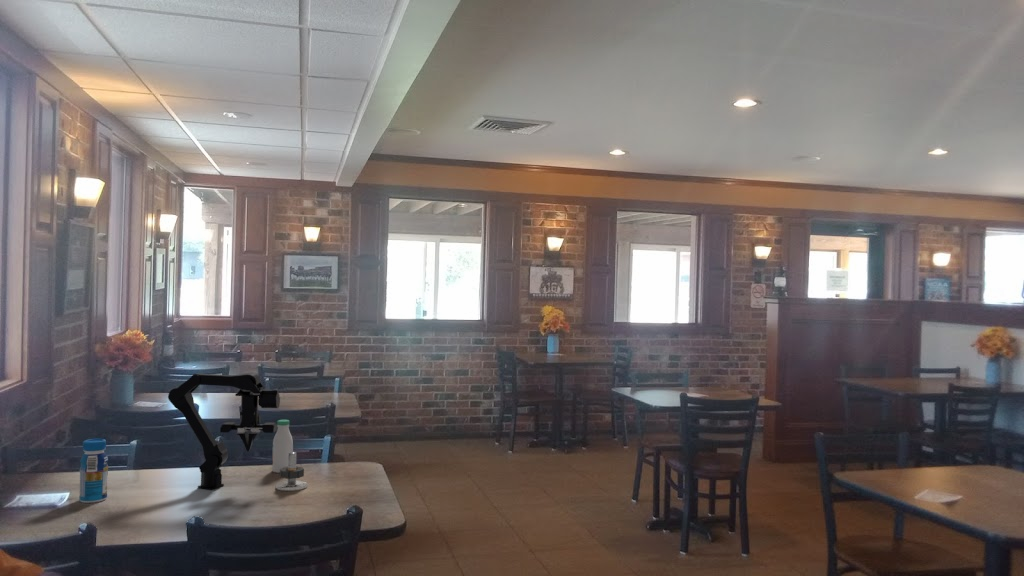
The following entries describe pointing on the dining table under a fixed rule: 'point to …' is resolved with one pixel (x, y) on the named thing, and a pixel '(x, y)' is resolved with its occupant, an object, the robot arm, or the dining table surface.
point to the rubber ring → (291, 473)
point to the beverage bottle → (93, 471)
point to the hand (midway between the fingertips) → (248, 451)
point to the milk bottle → (281, 446)
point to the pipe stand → (291, 483)
